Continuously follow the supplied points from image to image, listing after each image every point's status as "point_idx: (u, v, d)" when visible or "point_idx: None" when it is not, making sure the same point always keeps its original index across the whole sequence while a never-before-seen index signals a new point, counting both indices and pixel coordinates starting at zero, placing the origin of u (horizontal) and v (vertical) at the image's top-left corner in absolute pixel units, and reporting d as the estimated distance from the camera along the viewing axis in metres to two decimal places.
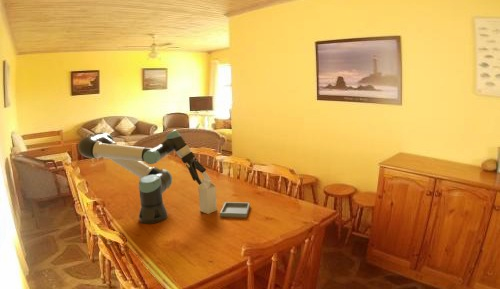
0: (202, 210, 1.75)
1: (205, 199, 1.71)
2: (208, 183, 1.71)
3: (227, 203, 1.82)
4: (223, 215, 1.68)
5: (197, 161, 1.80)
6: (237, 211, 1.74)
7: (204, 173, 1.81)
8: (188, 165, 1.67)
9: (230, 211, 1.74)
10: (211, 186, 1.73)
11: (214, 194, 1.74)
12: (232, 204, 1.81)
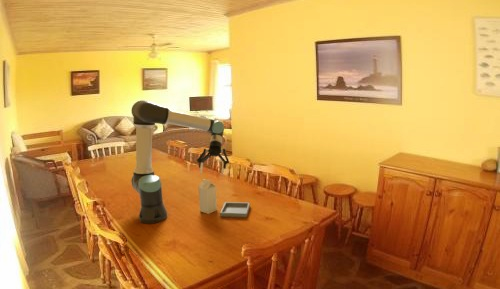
0: (202, 210, 1.75)
1: (205, 199, 1.71)
2: (208, 183, 1.71)
3: (227, 203, 1.82)
4: (223, 215, 1.68)
5: (205, 154, 1.92)
6: (237, 211, 1.74)
7: (202, 165, 1.87)
8: (225, 151, 1.90)
9: (230, 211, 1.74)
10: (211, 186, 1.73)
11: (214, 194, 1.74)
12: (232, 204, 1.81)
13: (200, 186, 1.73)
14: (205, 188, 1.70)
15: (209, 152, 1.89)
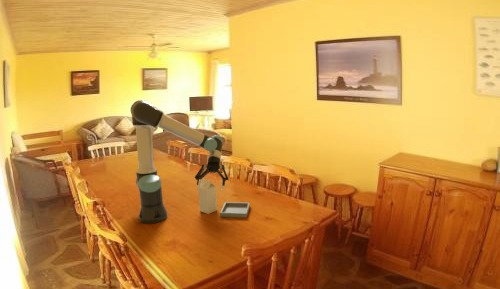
0: (202, 210, 1.75)
1: (205, 199, 1.71)
2: (208, 183, 1.71)
3: (227, 203, 1.82)
4: (223, 215, 1.68)
5: (203, 169, 1.85)
6: (237, 211, 1.74)
7: (200, 181, 1.80)
8: (224, 167, 1.83)
9: (230, 211, 1.74)
10: (211, 186, 1.73)
11: (214, 194, 1.74)
12: (232, 204, 1.81)
13: (200, 186, 1.73)
14: (205, 188, 1.70)
15: (207, 168, 1.82)
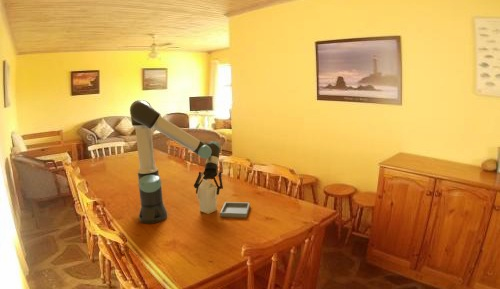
0: (202, 210, 1.75)
1: (205, 199, 1.71)
2: (208, 183, 1.71)
3: (227, 203, 1.82)
4: (223, 215, 1.68)
5: None
6: (237, 211, 1.74)
7: None
8: (221, 174, 1.80)
9: (230, 211, 1.74)
10: (211, 186, 1.73)
11: (214, 194, 1.74)
12: (232, 204, 1.81)
13: (200, 186, 1.73)
14: (205, 188, 1.70)
15: (205, 175, 1.78)
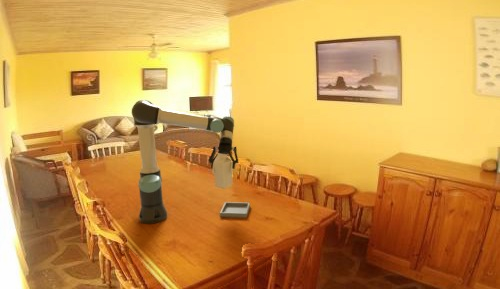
0: (218, 185, 1.71)
1: (221, 173, 1.67)
2: (224, 157, 1.67)
3: (227, 203, 1.82)
4: (223, 215, 1.68)
5: (215, 152, 1.77)
6: (237, 211, 1.74)
7: None
8: (236, 149, 1.76)
9: (230, 211, 1.74)
10: (227, 160, 1.69)
11: (230, 168, 1.70)
12: (232, 204, 1.81)
13: (215, 160, 1.69)
14: (221, 162, 1.66)
15: (220, 150, 1.75)
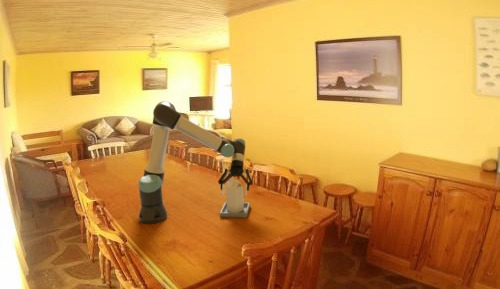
0: (229, 210, 1.73)
1: (233, 198, 1.69)
2: (236, 183, 1.69)
3: None
4: (223, 215, 1.68)
5: (226, 174, 1.79)
6: None
7: (224, 186, 1.74)
8: None
9: None
10: (239, 186, 1.71)
11: (242, 194, 1.72)
12: None
13: (228, 186, 1.71)
14: (233, 188, 1.68)
15: (231, 172, 1.76)
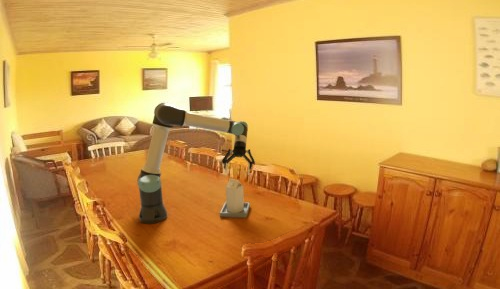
0: (229, 210, 1.73)
1: (233, 199, 1.69)
2: (236, 183, 1.69)
3: None
4: (223, 215, 1.68)
5: (229, 154, 1.88)
6: None
7: (227, 165, 1.83)
8: None
9: None
10: (239, 186, 1.71)
11: (241, 194, 1.72)
12: None
13: (227, 186, 1.71)
14: (233, 188, 1.68)
15: (234, 152, 1.85)
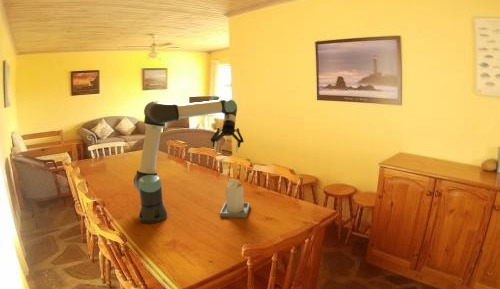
0: (229, 210, 1.73)
1: (233, 199, 1.69)
2: (236, 183, 1.69)
3: None
4: (223, 215, 1.68)
5: (218, 133, 1.90)
6: None
7: (216, 144, 1.85)
8: None
9: None
10: (239, 186, 1.71)
11: (241, 194, 1.72)
12: None
13: (227, 186, 1.71)
14: (233, 188, 1.68)
15: (223, 131, 1.87)
